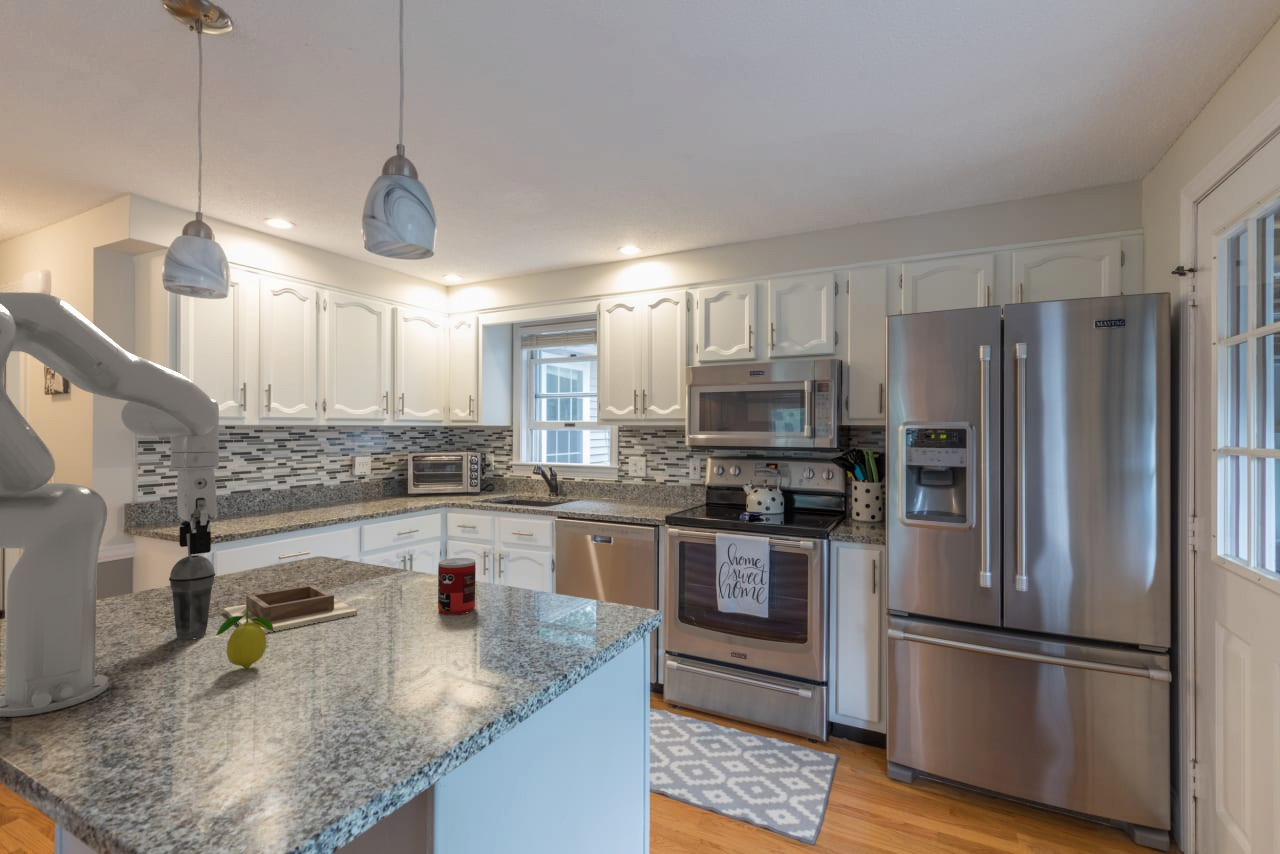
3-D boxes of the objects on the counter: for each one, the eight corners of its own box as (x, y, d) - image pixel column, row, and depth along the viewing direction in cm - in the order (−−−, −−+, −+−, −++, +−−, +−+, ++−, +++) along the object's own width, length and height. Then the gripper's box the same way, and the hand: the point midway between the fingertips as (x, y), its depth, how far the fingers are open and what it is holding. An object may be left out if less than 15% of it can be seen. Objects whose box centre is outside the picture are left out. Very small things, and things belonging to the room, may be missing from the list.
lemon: (215, 677, 97) (216, 615, 97) (229, 664, 103) (230, 605, 103) (262, 673, 99) (263, 612, 99) (273, 660, 104) (274, 602, 104)
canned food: (435, 607, 137) (436, 559, 137) (472, 604, 140) (472, 556, 140) (440, 617, 130) (440, 565, 130) (477, 612, 133) (478, 562, 133)
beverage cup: (223, 631, 120) (225, 530, 120) (193, 643, 112) (195, 536, 113) (190, 629, 120) (191, 529, 121) (157, 642, 113) (159, 535, 114)
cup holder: (357, 614, 131) (357, 596, 131) (250, 636, 117) (251, 615, 117) (321, 595, 146) (321, 579, 146) (223, 612, 132) (223, 594, 132)
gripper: (229, 462, 114) (228, 553, 114) (208, 458, 126) (208, 540, 126) (179, 464, 108) (179, 559, 108) (163, 460, 120) (162, 545, 120)
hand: (194, 549), depth 117 cm, fingers open, 9 cm apart
